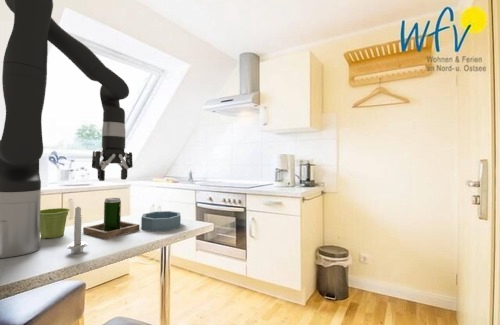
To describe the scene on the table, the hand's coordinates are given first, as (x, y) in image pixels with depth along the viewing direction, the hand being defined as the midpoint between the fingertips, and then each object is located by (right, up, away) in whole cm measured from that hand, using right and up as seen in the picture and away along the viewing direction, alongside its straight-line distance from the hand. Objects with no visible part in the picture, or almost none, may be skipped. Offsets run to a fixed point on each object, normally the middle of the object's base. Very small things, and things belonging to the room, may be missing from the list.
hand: (113, 180), depth 94 cm
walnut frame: (0, -19, 0) cm, 19 cm away
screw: (+1, -19, -21) cm, 28 cm away
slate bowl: (+14, -19, +9) cm, 26 cm away
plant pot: (-17, -19, -7) cm, 26 cm away
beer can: (0, -19, 0) cm, 19 cm away
